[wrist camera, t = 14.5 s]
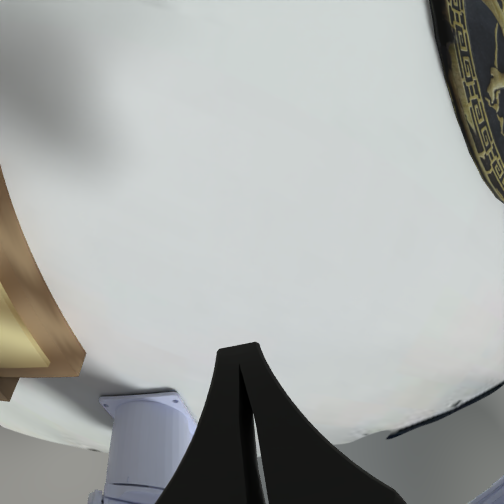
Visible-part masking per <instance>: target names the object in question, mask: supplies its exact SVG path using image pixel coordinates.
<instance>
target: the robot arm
mask: <svg viewBox="0 0 504 504" xmlns="http://www.w3.org/2000/svg"><path fill="white" fill-rule="evenodd" d="M99 403H100V404H101V405H102V406H103V407H104V408H105V410H106V411H107V412H108V413H109V414H110V415H111V416H112V418H113V419H114V423H113V429H112V436H111V443H110V451H109V459H108V467H107V477H106V483H105V488H104V495H102V491H101V490H95V491H94V492H92V493H90V494H89V497H88V504H266V503H265V498H264V494H263V490H262V484H261V480H260V475H259V470H258V462H257V453H256V441H255V430H254V418H255V423H256V427H257V434H258V440H259V446H260V452H261V458H262V464H263V470H264V476H265V482H266V488H267V495H268V500H269V504H406V502H405V501H404V500H403V498H402V497H401V496H400V495H399V494H398V493H397V492H396V491H395V490H394V489H393V488H391V487H389V486H388V485H386V484H384V483H383V482H381V481H379V480H378V479H376V478H375V477H373V476H372V475H370V474H369V473H367V472H366V471H365V470H363V469H362V468H361V467H359V466H358V465H356V464H355V463H354V462H352V461H351V460H350V459H349V458H348V457H346V456H345V455H344V454H343V453H342V452H340V451H339V450H338V449H337V448H336V447H335V446H333V445H332V444H331V443H330V442H329V441H328V440H327V439H326V438H325V437H324V436H323V435H322V434H321V433H320V432H319V431H318V430H317V429H316V428H315V427H314V426H313V425H312V424H311V423H310V422H309V421H308V420H307V418H306V417H305V416H304V415H303V414H302V413H301V412H300V410H299V409H298V408H297V407H296V405H295V404H294V403H293V402H292V400H291V399H290V398H289V396H288V395H287V394H286V392H285V391H284V389H283V388H282V386H281V385H280V383H279V382H278V380H277V379H276V377H275V376H274V374H273V372H272V371H271V369H270V367H269V365H268V364H267V362H266V360H265V358H264V355H263V353H262V351H261V348H260V345H259V343H257V342H252V343H247V344H242V345H237V346H232V347H227V348H221V349H219V350H218V351H217V355H216V362H215V368H214V373H213V377H212V381H211V385H210V388H209V392H208V395H207V399H206V402H205V405H204V408H203V411H202V414H201V417H200V419H199V422H198V425H197V424H196V422H195V420H194V419H193V417H192V415H191V414H190V412H189V410H188V409H187V407H186V405H185V404H184V402H183V400H182V399H181V397H180V395H179V394H178V393H177V392H165V393H154V394H142V395H126V396H104V397H100V398H99ZM253 414H254V418H253ZM467 504H504V475H503V476H502V477H501V478H500V479H498V480H497V481H496V482H495V483H494V484H492V486H491V487H490V488H488V489H487V490H486V491H484V492H483V493H481V494H480V495H479V496H477V497H476V498H474V499H473V500H471V501H470V502H468V503H467Z"/></svg>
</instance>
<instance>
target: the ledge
mask: <svg viewBox="0 0 504 504" xmlns="http://www.w3.org/2000/svg"><path fill="white" fill-rule="evenodd" d="M19 378H20V377H0V401H8V402H10V399H11V397H12V394H13V392H14V389H15V387H16V385H17V382H18V380H19Z"/></svg>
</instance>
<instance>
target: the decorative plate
mask: <svg viewBox="0 0 504 504" xmlns="http://www.w3.org/2000/svg"><path fill="white" fill-rule="evenodd" d="M429 1H430V7H431V12H432V18H433V24H434V31H435V38H436V42H437V46H438V50H439V54H440V58H441V62H442V67H443V71H444V76H445V80H446V83H447V87H448V90H449V93H450V96H451V100H452V103H453V107H454V110H455V114H456V118H457V121H458V123H459V126H460V128H461V131H462V133H463V136H464V139H465V142H466V144H467V147H468V150H469V153H470V155H471V157H472V159H473V161H474V163H475V165H476V167H477V169H478V171H479V173H480V175H481V177H482V179H483V181H484V182H485V183H486V185H487V186H488V187H489V189H490V190H491V191H492V193H493V194H494V196H495V197H496V198H497V199H498V200H500V201H501V202H502V203H504V0H429Z"/></svg>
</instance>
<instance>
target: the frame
mask: <svg viewBox="0 0 504 504" xmlns="http://www.w3.org/2000/svg"><path fill="white" fill-rule="evenodd" d="M85 355H86V352H85V350H84V349H83V347H82V346H81V344H80V343H79V341H78V339H77V338H76V336H75V335H74V333H73V331H72V330H71V328H70V326H69V325H68V323H67V321H66V320H65V318H64V316H63V314H62V313H61V311H60V309H59V307H58V306H57V304H56V302H55V300H54V298H53V296H52V294H51V292H50V291H49V289H48V287H47V285H46V283H45V281H44V279H43V277H42V275H41V273H40V270H39V268H38V266H37V264H36V262H35V260H34V258H33V255H32V253H31V251H30V248H29V246H28V244H27V241H26V239H25V237H24V234H23V232H22V229H21V227H20V224H19V221H18V219H17V216H16V213H15V210H14V208H13V205H12V202H11V199H10V196H9V193H8V190H7V187H6V183H5V180H4V177H3V173H2V170H1V166H0V377H26V378H39V377H76V376H79V374H80V370H81V367H82V364H83V361H84V358H85Z"/></svg>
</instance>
